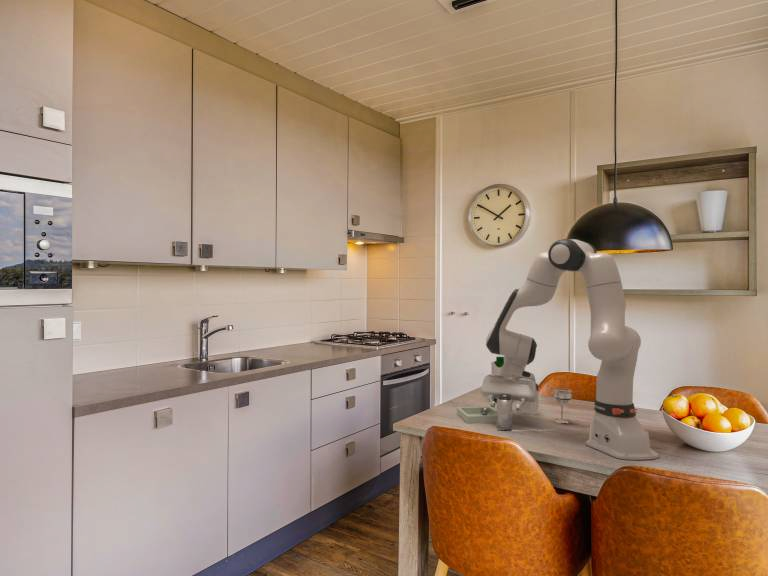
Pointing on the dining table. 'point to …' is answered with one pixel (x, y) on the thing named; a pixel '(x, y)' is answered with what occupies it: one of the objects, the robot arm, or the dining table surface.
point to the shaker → (504, 412)
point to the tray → (477, 415)
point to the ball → (484, 411)
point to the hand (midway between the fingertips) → (505, 408)
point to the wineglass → (562, 400)
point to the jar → (530, 405)
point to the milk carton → (497, 368)
